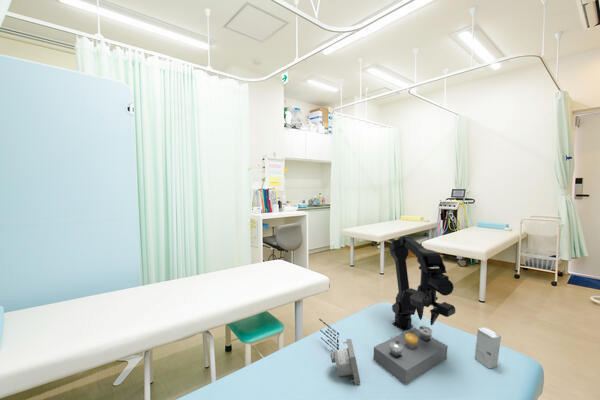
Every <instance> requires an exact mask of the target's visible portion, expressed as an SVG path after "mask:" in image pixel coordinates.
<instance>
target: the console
mask: <svg viewBox="0 0 600 400" xmlns="http://www.w3.org/2000/svg"><path fill="white" fill-rule="evenodd" d="M406 333H413V334H415V335H416V336H417V337H418V344H417V345H416V348H415V349H414V350H411V349H409V348H408V347H406V341H405V334H406ZM420 337H421V335H420V334H419V329H418V328H416V327H413V328H410V329H408V330H405V332H403V333H400V334H398V335H396V336H394V337H391V338H390V339H388V340H386V341H383V342H381V343H379V344H377V345H375V346H374V347H373V361H374V362H376V363H377V364H378V365H380V366H381V367H382V368H384V369H385V370H386V371H387V372H389V373H390V374H391V375H392V376H394V377H395V378H396V379H398V380H399V381H400V382H401V383H402V384H404V385H407V384H409V383H411V382H412V381H414V380H416V379H417V378H418V377H420V376H422V375H423V374H424V373H426V372H428V371H429V370H431V369H432V368H434V367H436V366H437V365H438V364H440V363H442V362H443V361H445V360H446V359H447V358H448V345H447V344H445V343H444V342H442V341H439V340H438V339H436V338H434V337H432V336H431V337H430V341H428V342H425V341H423V340H421V339H420ZM392 340H396V341H399V342H401V343H402V345H403V349H402V353H401V356H400V357H399V358H397V359H396V358H395V357H393V356H392V355H391V350H390V349H389V345H390V341H392Z"/></svg>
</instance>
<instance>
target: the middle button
mask: <svg viewBox="0 0 600 400" xmlns="http://www.w3.org/2000/svg"><path fill="white" fill-rule="evenodd" d="M405 341H406V347H408V348H409V349H411V350H414V349H415V348H416V345H417V344H418V337H417V336H416V335H415V334H413V333H406V334H405Z"/></svg>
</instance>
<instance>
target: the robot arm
mask: <svg viewBox="0 0 600 400" xmlns="http://www.w3.org/2000/svg"><path fill="white" fill-rule="evenodd" d="M388 250H389V252H390V255H391V257H392V258H393V259H394V263H395V271H396V279H397V281H396V282H397V290H398V293H397V294H396V297H395V303H394V304H392V306H391V309H392V312H393V313H394V321H393V322H392V325H394V326H395V327H398V328H399V329H401V330H402V331H408V330H410V329H412V327H413V325H412V320H413V319H412V315H413V316H414V315H415V314H416V313H417V315H418V319H419V320H420V321H422V319H423V316H424V309H425V307H426V308H429V307H430V306H431V307H433V308H432V309H429V312H430V313H431V314H430V321H429V322H430V326H433V325H434V324H435V322H436V321H437V319H438V317H439V316H443V317H445V318H449V317H450V316H453V315H454V314H456V307H455V306H454V305H453V304H450V303H448V302H445V301H444V302H442V303H441V302H437V301H438V299H439V297H438V296H437V292H438V294H440V295H441V296H446V297H447V296H449V295H450V294H452V292H453V291H454V284H453V282H452V281H451V280H450V277H449V275H447V270H446V269H447V268H446V265H445V264H444V261H443V259H442V256H441V253H439V252H438V251H435V250H431V249H428V248H425V247H424V246H423V245H422V244H420V243H419V242H418V241H416V240H415V239H414V238H413V236H411V235H410V236H407V235H404V236H400V237H399V238H397V239H395V240H393V241H391V242H390V243H389V244H388ZM409 252H410V253H412V254H413V255H414V256H415V257H416V258H417V259H416V262H418V264H419V266H418V269H419V270H420V284H419V285H418V286H417V290H416V289H414V288H412V287H410V281H409V275H408V268H407V259H408V256H409ZM413 328H414V327H413Z"/></svg>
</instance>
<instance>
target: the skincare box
mask: <svg viewBox="0 0 600 400" xmlns="http://www.w3.org/2000/svg"><path fill="white" fill-rule="evenodd" d="M501 339H502V336H501V335H499V333H498V334H497V333H496V332H495V331H493V330H491V329H489V328H488V327H487V326H486V327H485V326H484V327H480V328H478V329H477V333H476V342H475V343H476V344H475V351H474V359H475V360H476V361H477V362H479V363H480V364H482V365H483V366H484V367H486V368H488V369H493V368H497V367H498V362H499V353H500V347H501V341H502V340H501Z"/></svg>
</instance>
